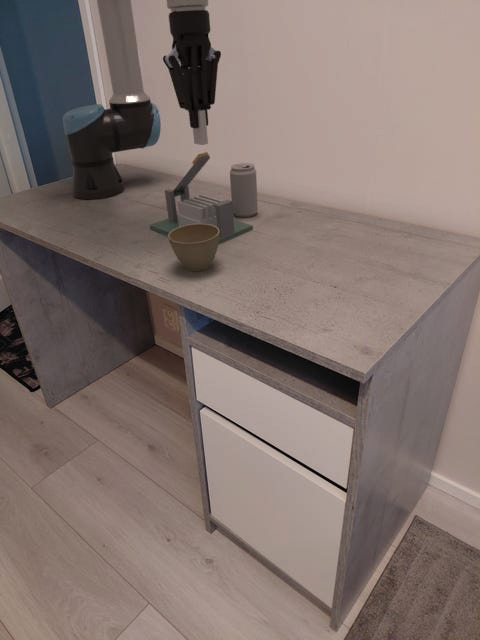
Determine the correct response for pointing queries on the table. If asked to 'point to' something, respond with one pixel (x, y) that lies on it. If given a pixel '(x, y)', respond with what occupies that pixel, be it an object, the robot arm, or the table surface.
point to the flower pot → (195, 245)
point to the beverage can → (244, 189)
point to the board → (201, 215)
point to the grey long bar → (191, 173)
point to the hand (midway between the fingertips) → (201, 143)
